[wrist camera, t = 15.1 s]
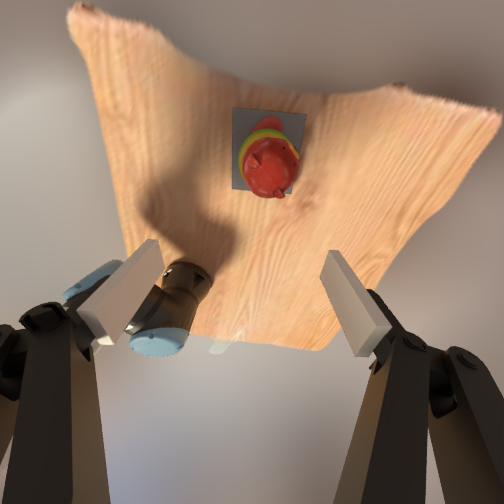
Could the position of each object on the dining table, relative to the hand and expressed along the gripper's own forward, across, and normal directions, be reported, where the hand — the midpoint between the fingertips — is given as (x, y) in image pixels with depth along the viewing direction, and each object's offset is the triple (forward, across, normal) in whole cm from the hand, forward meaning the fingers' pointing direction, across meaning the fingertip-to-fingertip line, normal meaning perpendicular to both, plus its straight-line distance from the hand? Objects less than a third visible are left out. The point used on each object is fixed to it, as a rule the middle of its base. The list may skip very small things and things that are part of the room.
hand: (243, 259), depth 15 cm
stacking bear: (+29, +3, +5) cm, 29 cm away
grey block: (+33, +3, +5) cm, 33 cm away
